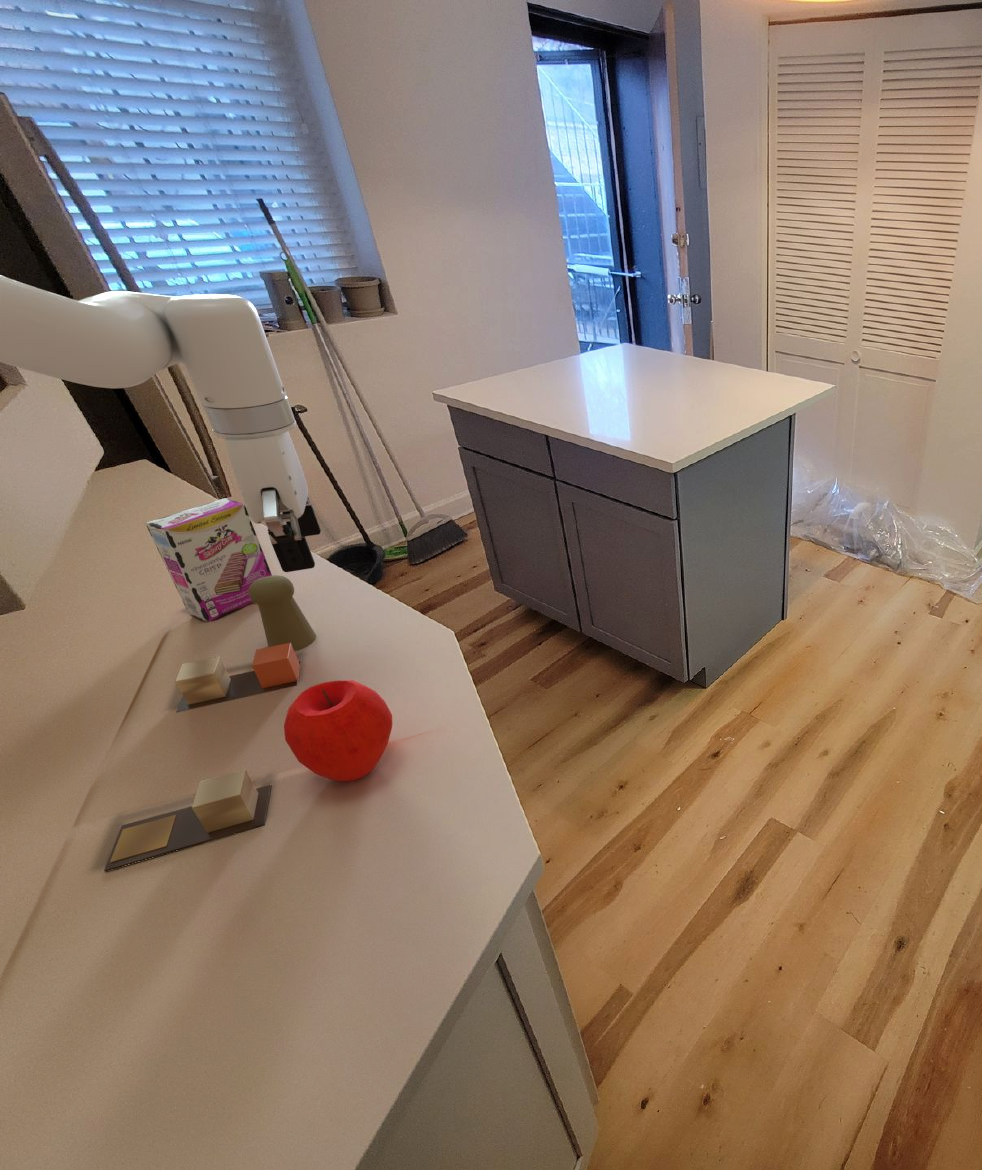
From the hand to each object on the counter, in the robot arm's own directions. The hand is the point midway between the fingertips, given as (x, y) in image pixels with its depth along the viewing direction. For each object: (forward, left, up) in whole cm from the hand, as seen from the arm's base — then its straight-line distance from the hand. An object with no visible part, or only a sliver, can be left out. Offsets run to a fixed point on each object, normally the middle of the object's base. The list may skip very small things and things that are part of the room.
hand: (303, 551), depth 80 cm
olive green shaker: (-8, +13, -21) cm, 26 cm away
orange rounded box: (-8, +4, -20) cm, 22 cm away
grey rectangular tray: (-13, +4, -20) cm, 24 cm away
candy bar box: (-17, +29, -21) cm, 39 cm away
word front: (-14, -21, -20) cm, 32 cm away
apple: (+1, -19, -21) cm, 28 cm away
